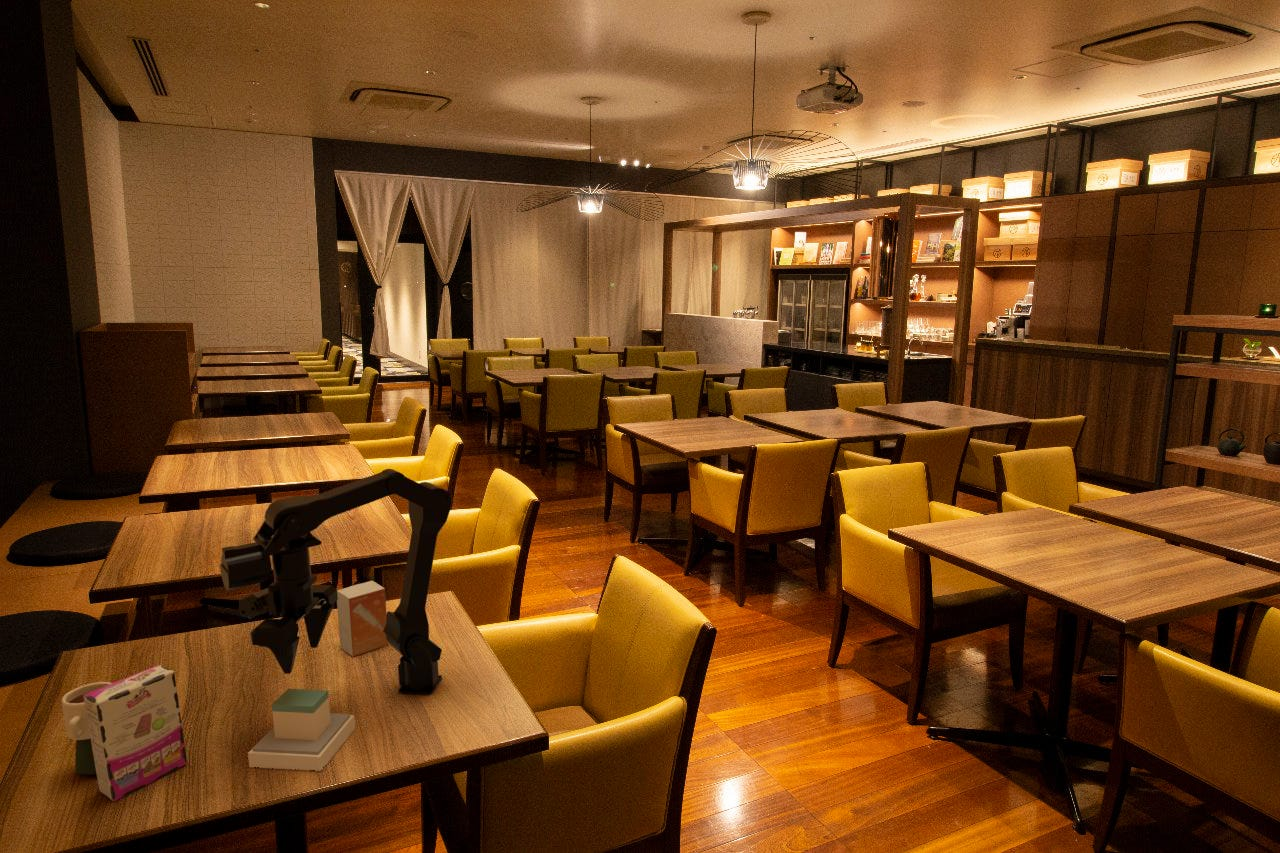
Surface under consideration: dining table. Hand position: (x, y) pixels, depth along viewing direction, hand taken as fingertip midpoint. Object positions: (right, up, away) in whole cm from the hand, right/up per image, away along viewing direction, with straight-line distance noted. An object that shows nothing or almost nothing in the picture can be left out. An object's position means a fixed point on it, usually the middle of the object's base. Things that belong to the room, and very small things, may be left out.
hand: (301, 659), depth 134 cm
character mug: (-28, -15, -9) cm, 33 cm away
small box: (0, -7, +32) cm, 32 cm away
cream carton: (+2, -10, -5) cm, 12 cm away
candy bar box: (-20, -15, -12) cm, 27 cm away
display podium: (+2, -13, -4) cm, 14 cm away
